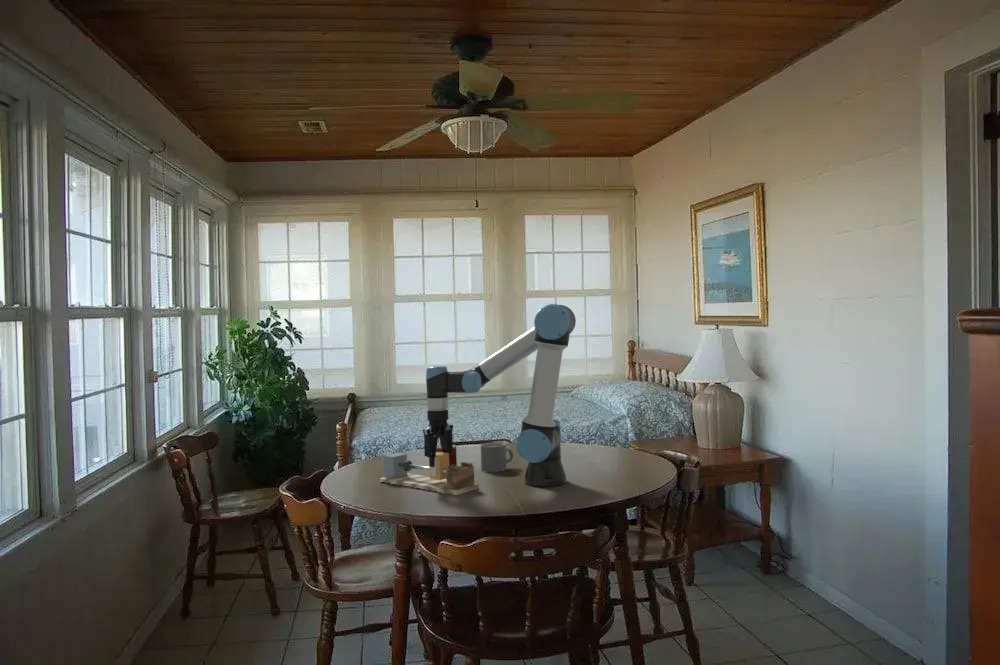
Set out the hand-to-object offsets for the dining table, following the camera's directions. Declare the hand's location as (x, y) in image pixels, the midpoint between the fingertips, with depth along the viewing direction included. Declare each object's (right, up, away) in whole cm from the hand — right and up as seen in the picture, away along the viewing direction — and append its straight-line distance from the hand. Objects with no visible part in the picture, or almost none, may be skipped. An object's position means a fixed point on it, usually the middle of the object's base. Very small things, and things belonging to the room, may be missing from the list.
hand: (439, 474), depth 253 cm
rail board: (-5, -5, +4) cm, 8 cm away
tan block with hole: (0, -1, 0) cm, 1 cm away
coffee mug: (+21, -4, +28) cm, 35 cm away
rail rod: (-5, -1, +4) cm, 7 cm away
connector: (-18, -4, +14) cm, 23 cm away
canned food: (+1, -5, +22) cm, 23 cm away
